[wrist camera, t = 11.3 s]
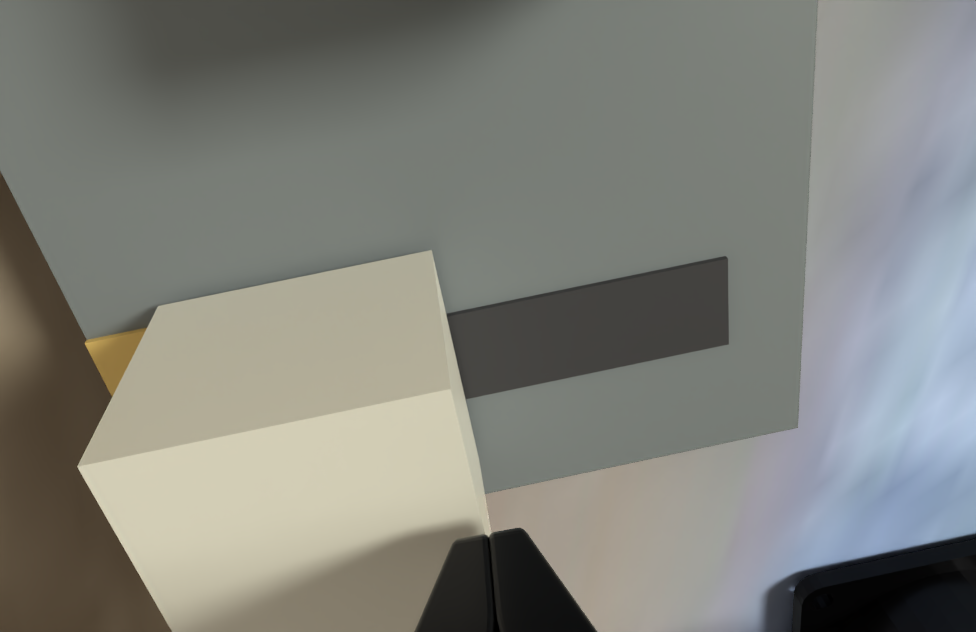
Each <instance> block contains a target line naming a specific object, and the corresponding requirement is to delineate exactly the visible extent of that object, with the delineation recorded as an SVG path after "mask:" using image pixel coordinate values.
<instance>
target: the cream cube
mask: <svg viewBox="0 0 976 632" xmlns="http://www.w3.org/2000/svg"><path fill="white" fill-rule="evenodd" d="M77 467H78V469H79V471H80V473H81V474H82V476H83V478H84V480H85V481H86V483H87V485H88V487H89V488H90V490H91V492H92V494H93V495H94V497H95V499H96V501H97V502H98V504H99V506H100V507H101V509H102V511H103V513H104V514H105V516H106V518H107V520H108V521H109V523H110V525H111V527H112V528H113V530H114V532H115V534H116V535H117V537H118V539H119V540H120V542H121V544H122V546H123V547H124V549H125V551H126V553H127V554H128V556H129V558H130V560H131V561H132V563H133V565H134V567H135V568H136V570H137V572H138V573H139V575H140V577H141V579H142V580H143V582H144V584H145V586H146V587H147V589H148V591H149V593H150V594H151V596H152V598H153V600H154V601H155V603H156V605H157V607H158V608H159V610H160V612H161V613H162V615H163V617H164V619H165V620H166V622H167V624H168V626H169V627H170V629H171V631H172V632H414V631H415V629H416V627H417V624H418V622H419V620H420V617H421V615H422V613H423V610H424V608H425V606H426V603H427V601H428V599H429V596H430V594H431V592H432V589H433V587H434V585H435V582H436V580H437V578H438V575H439V573H440V571H441V568H442V566H443V564H444V561H445V559H446V556H447V554H448V552H449V549H450V547H451V545H452V543H453V542H454V541H455V540H456V539H459V538H465V537H470V536H476V535H481V534H485V535H487V536H488V537H489V536H490V534H491V528H490V522H489V516H488V510H487V504H486V498H485V492H484V486H483V480H482V474H481V468H480V463H479V457H478V453H477V448H476V444H475V439H474V435H473V431H472V426H471V422H470V417H469V413H468V409H467V404H466V400H465V395H464V391H463V386H462V382H461V378H460V373H459V369H458V364H457V360H456V355H455V351H454V347H453V342H452V338H451V333H450V329H449V325H448V320H447V316H446V311H445V307H444V302H443V298H442V294H441V289H440V285H439V280H438V276H437V271H436V267H435V263H434V258H433V254H432V250H429V251H424V252H419V253H414V254H409V255H405V256H400V257H395V258H390V259H385V260H380V261H375V262H370V263H366V264H361V265H356V266H351V267H346V268H341V269H336V270H331V271H326V272H322V273H317V274H312V275H307V276H302V277H297V278H292V279H287V280H283V281H278V282H273V283H268V284H263V285H258V286H253V287H248V288H244V289H239V290H234V291H229V292H224V293H219V294H214V295H209V296H204V297H200V298H195V299H190V300H185V301H180V302H175V303H170V304H165V305H161V306H158V307H157V309H156V311H155V313H154V315H153V317H152V319H151V321H150V323H149V325H148V327H147V329H146V331H145V333H144V335H143V337H142V339H141V341H140V343H139V345H138V347H137V349H136V351H135V353H134V355H133V357H132V359H131V361H130V363H129V365H128V367H127V369H126V371H125V373H124V375H123V377H122V379H121V381H120V383H119V385H118V387H117V389H116V391H115V393H114V395H113V397H112V399H111V401H110V403H109V405H108V407H107V409H106V411H105V413H104V415H103V417H102V419H101V420H100V422H99V424H98V426H97V428H96V430H95V432H94V434H93V436H92V438H91V440H90V442H89V444H88V446H87V448H86V450H85V452H84V454H83V456H82V458H81V460H80V462H79V464H78V466H77Z"/></svg>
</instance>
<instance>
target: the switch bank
mask: <svg viewBox="0 0 976 632" xmlns="http://www.w3.org/2000/svg"><path fill="white" fill-rule="evenodd" d="M817 7H818V0H0V171H1V173H2V175H3V177H4V179H5V181H6V183H7V185H8V187H9V189H10V191H11V193H12V195H13V197H14V198H15V200H16V202H17V204H18V206H19V208H20V210H21V212H22V214H23V216H24V218H25V220H26V222H27V224H28V226H29V228H30V230H31V232H32V234H33V236H34V238H35V240H36V242H37V243H38V245H39V247H40V249H41V251H42V253H43V255H44V257H45V259H46V261H47V263H48V265H49V267H50V269H51V271H52V273H53V275H54V277H55V279H56V281H57V283H58V285H59V287H60V289H61V290H62V292H63V294H64V296H65V298H66V300H67V302H68V304H69V306H70V308H71V310H72V312H73V314H74V316H75V318H76V320H77V322H78V324H79V326H80V328H81V330H82V332H83V334H84V335H85V337H86V339H87V340H86V342H85V345H86V347H87V349H88V351H89V353H90V355H91V357H92V359H93V361H94V363H95V365H96V367H97V369H98V371H99V372H100V374H101V376H102V378H103V380H104V382H105V384H106V386H107V388H108V390H109V392H110V394H111V396H112V397H113V395H114V393H115V391H116V389H117V387H118V385H119V383H120V381H121V379H122V377H123V375H124V373H125V371H126V369H127V367H128V365H129V363H130V361H131V359H132V357H133V355H134V353H135V351H136V349H137V347H138V345H139V343H140V341H141V339H142V337H143V335H144V333H145V331H146V329H147V327H148V325H149V323H150V321H151V319H152V317H153V315H154V313H155V311H156V309H157V307H158V306H161V305H165V304H170V303H175V302H180V301H185V300H190V299H195V298H200V297H204V296H209V295H214V294H219V293H224V292H229V291H234V290H239V289H244V288H248V287H253V286H258V285H263V284H268V283H273V282H278V281H283V280H287V279H292V278H297V277H302V276H307V275H312V274H317V273H322V272H326V271H331V270H336V269H341V268H346V267H351V266H356V265H361V264H366V263H370V262H375V261H380V260H385V259H390V258H395V257H400V256H405V255H409V254H414V253H419V252H424V251H429V250H432V254H433V258H434V263H435V267H436V271H437V276H438V280H439V285H440V289H441V294H442V298H443V302H444V307H445V311H446V316H447V320H448V325H449V329H450V333H451V338H452V342H453V347H454V351H455V355H456V360H457V364H458V369H459V373H460V378H461V382H462V386H463V391H464V395H465V400H466V404H467V409H468V413H469V417H470V422H471V426H472V431H473V435H474V439H475V444H476V448H477V453H478V457H479V463H480V468H481V474H482V480H483V486H484V492H485V494H487V493H492V492H496V491H501V490H506V489H511V488H515V487H520V486H525V485H530V484H534V483H539V482H544V481H548V480H553V479H558V478H563V477H567V476H572V475H577V474H581V473H586V472H591V471H596V470H600V469H605V468H610V467H615V466H619V465H624V464H629V463H633V462H638V461H643V460H648V459H652V458H657V457H662V456H667V455H671V454H676V453H681V452H685V451H690V450H695V449H700V448H704V447H709V446H714V445H718V444H723V443H728V442H733V441H737V440H742V439H747V438H752V437H756V436H761V435H766V434H770V433H775V432H780V431H785V430H789V429H794V428H798V414H799V393H800V371H801V350H802V329H803V307H804V286H805V264H806V243H807V221H808V200H809V178H810V157H811V136H812V114H813V93H814V71H815V50H816V28H817Z"/></svg>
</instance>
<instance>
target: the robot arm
mask: <svg viewBox="0 0 976 632" xmlns="http://www.w3.org/2000/svg"><path fill="white" fill-rule="evenodd" d="M414 632H597V631H596V629H595V628H594V626H593V625H592V624H591V622H590V621H589V619H588V618H587V617H586V615H585V614H584V612H583V611H582V610H581V608H580V607H579V605H578V604H577V603H576V601H575V600H574V598H573V597H572V596H571V594H570V593H569V591H568V590H567V588H566V587H565V586H564V584H563V583H562V581H561V580H560V579H559V577H558V576H557V574H556V573H555V572H554V570H553V569H552V567H551V566H550V565H549V563H548V562H547V560H546V559H545V558H544V556H543V555H542V553H541V552H540V551H539V549H538V548H537V546H536V545H535V544H534V542H533V541H532V539H531V538H530V537H529V535H528V534H527V532H526V531H525V530H523V529H521V528H515V529H509V530H504V531H498V532H493V533H491V534H490V536H489V537H488V536H487V535H485V534H481V535H476V536H470V537H465V538H459V539H456V540H455V541H454V542H453V543H452V545H451V547H450V549H449V552H448V554H447V556H446V559H445V561H444V564H443V566H442V568H441V571H440V573H439V575H438V578H437V580H436V582H435V585H434V587H433V589H432V592H431V594H430V596H429V599H428V601H427V603H426V606H425V608H424V610H423V613H422V615H421V617H420V620H419V622H418V624H417V627H416V629H415V631H414ZM792 632H976V539H974V540H969V541H964V542H960V543H955V544H950V545H946V546H941V547H936V548H932V549H927V550H923V551H918V552H913V553H909V554H904V555H899V556H895V557H890V558H885V559H881V560H876V561H872V562H867V563H862V564H858V565H853V566H848V567H844V568H839V569H834V570H830V571H825V572H821V573H816V574H813V575H810V576H807V577H806V578H804V579H803V580H801V581H800V582H799V583H798V584H797V586H796V587H795V590H794V598H793V618H792Z"/></svg>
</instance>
